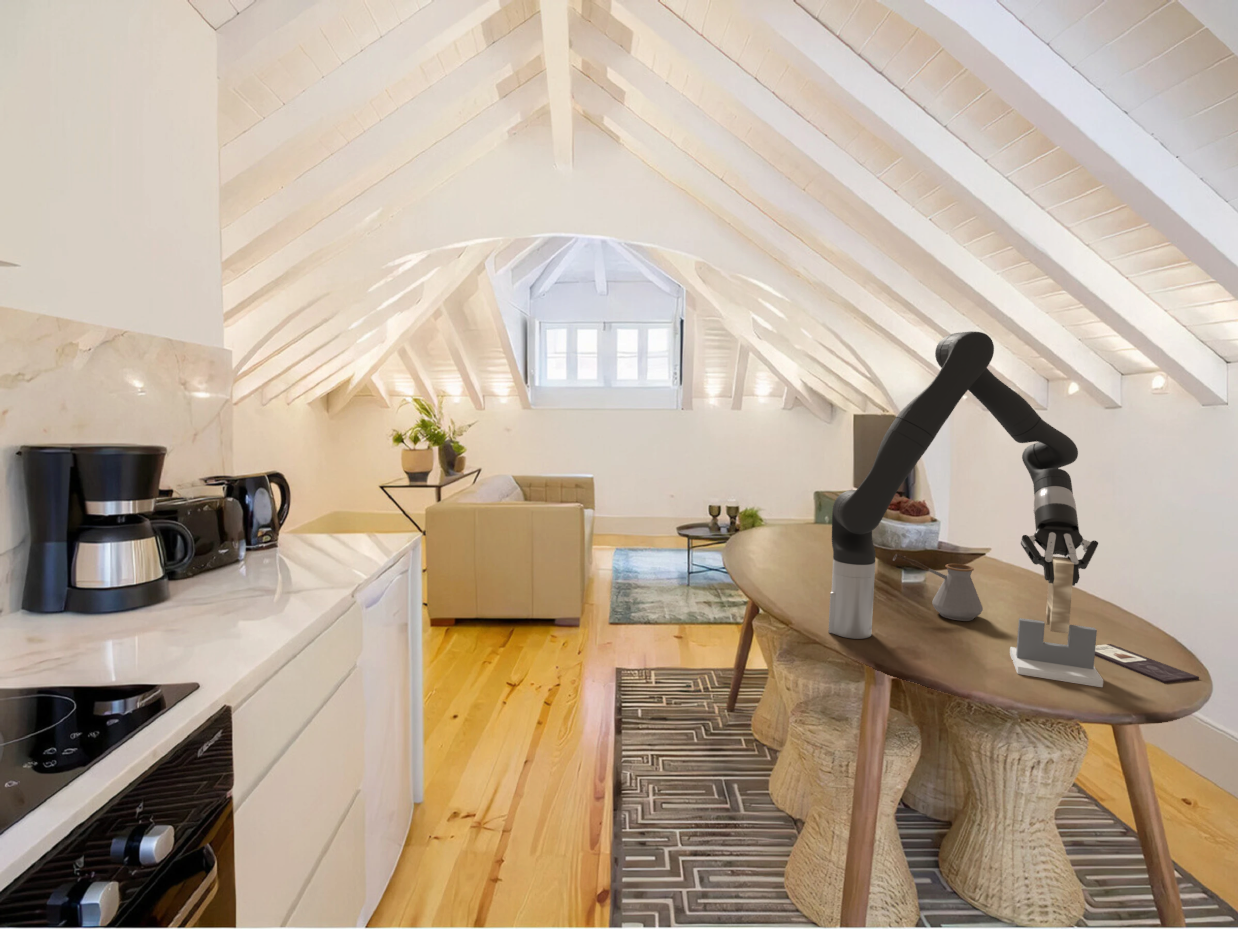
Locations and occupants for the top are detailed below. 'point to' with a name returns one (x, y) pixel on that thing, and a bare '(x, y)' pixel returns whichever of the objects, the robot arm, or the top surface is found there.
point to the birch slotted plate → (1060, 596)
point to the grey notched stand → (1056, 654)
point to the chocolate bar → (1142, 664)
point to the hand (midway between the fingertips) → (1062, 582)
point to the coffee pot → (954, 592)
